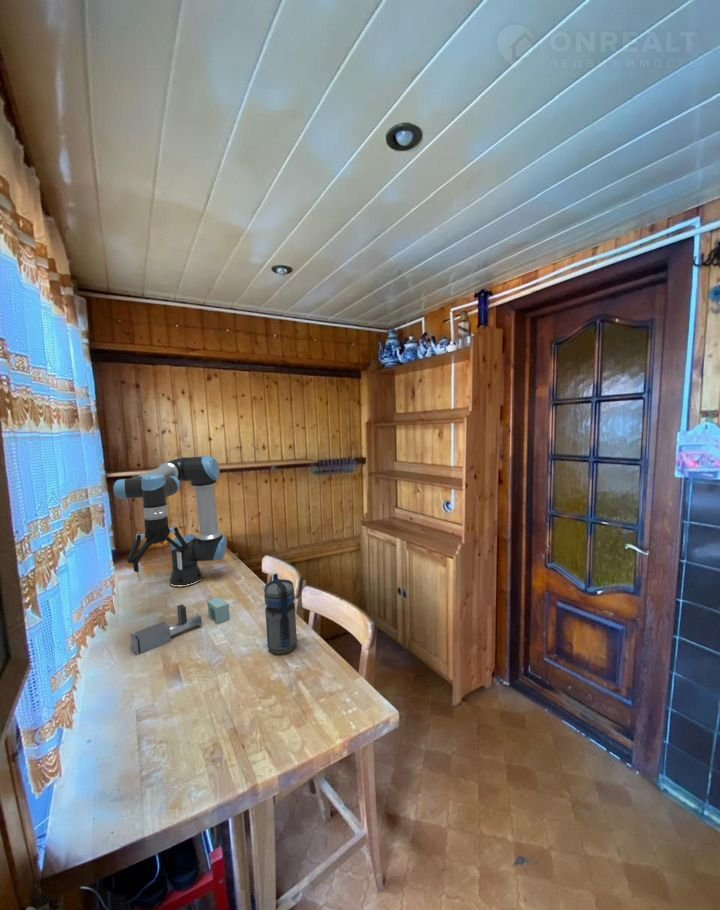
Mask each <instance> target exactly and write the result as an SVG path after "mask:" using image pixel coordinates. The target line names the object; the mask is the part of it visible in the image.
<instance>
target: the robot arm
mask: <svg viewBox="0 0 720 910" xmlns="http://www.w3.org/2000/svg"><path fill="white" fill-rule="evenodd" d="M219 478H220V467H219V463H218V461H217V459H216V458H214V456H206V455H204V456H189V457H188V456H187V457H179V458H175V459H172V460H169V461H167V462H163V463H161V464H160V465H159V466H158V467H157V468H154V469H152V470H149V471H147V472H144V473H142V474H139V475H137V476H133V477H131V478H124V479H123V478H121V479H117V480H116V481H115V482H114V484H113V493H114V496H115V497H116V499H121V500H123V499H125V500H128V499H139V498H140V499H142V507H143V508H142V509H143V518H144V521H143V522H144V531H145V532H144V533H141V534H139V533H136V534H135V535H134V542H133V544H132V546H131V548H130V551H129V553H128V555H127V558H126V562H127V563H128V564H132V565H133V571H134V572H135V573H136V574H137V580H138V581H139V582H142V581H143V574H142V562H141V559H142V557H143V556H144V555H145V554H146V552H147V551H148V549H149V548H150V547H151V546H152V545H156V544H159V543H164V542H165V541H166V542H167V543H169V544H170V553H171V562H172V563H171V564H172V570H171V574H170V578H169V584H170V583H171V584H173V585H187V584H191V583H194V582H196V581H198V580H200V579H201V578H202V579H203V574H202V571H201V569H200V567H199V564H198V562H207V561H208V562H211V561H214V562H215V561H220V560H222V559H223V558H224V557H225V555H226V552H227V547H228V539H227V537H226V536H224V535H223V532H222V531H221V530H219V524H218V523H219V522H218V515H217V514H218V513H217V505H216V504H217V503H216V497H215V489H214V488H215V487H214V486H215V484H217V480H219ZM181 482H190V485H191V487H193V488H194V491H195V498H196V499H195V500H196V506H197V508H196V510H197V514H198V515H197V516H198V525H199V531H200V533H199V534H198V536H197V537H196V535H195V534H187V535H186V534H185V535H181V533H180V531H179V528H178V527H177V526H174V525H173V526H172V527H171V528H170V527H169V518H168V506H167V503H168V502H167V498H168V497H171V496H173V495H175V494H176V493H178V491H180V489H181ZM170 533H172V534H173V535H174V536H175V537H176V538H175V539H172V538H171V537H169V535H170ZM144 538H145V539H146V540H145V541H144V543H143V545H141V548H140V549H139V546H140V544H141V543H142V542H141V541H143V540H144ZM138 549H139V551H138Z"/></svg>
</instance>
